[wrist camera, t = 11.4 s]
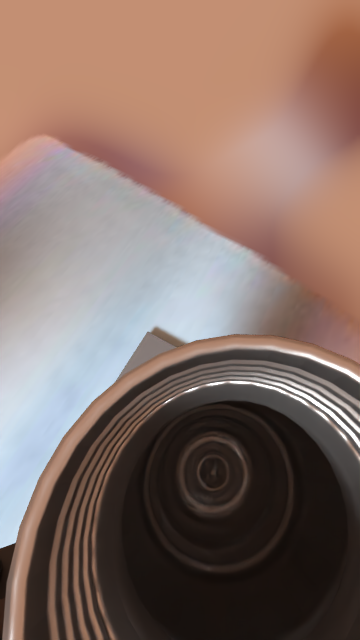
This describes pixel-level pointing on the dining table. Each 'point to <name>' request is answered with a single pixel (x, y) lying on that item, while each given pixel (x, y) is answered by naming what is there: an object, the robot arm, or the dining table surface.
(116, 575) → the plastic bottle
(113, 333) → the dining table surface
